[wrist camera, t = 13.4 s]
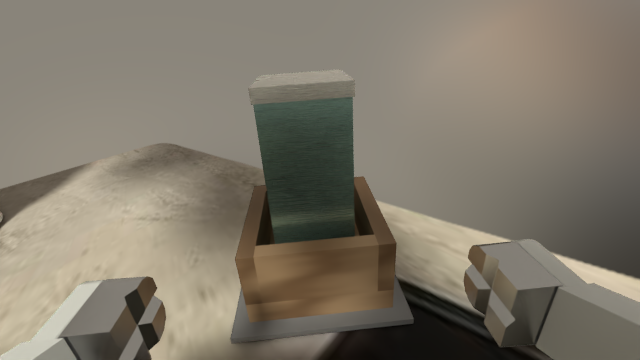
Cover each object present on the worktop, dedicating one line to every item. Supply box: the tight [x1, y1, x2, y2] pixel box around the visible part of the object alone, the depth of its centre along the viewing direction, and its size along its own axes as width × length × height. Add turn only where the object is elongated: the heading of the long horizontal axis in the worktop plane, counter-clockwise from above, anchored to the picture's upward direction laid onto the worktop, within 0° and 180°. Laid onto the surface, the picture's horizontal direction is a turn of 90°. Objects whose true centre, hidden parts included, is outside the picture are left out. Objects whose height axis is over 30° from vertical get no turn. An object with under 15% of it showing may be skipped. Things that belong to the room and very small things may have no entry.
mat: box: [231, 275, 414, 343], centre depth 23 cm, size 11×11×1 cm
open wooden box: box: [235, 177, 396, 323], centre depth 22 cm, size 9×9×5 cm
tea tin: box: [248, 70, 355, 244], centre depth 20 cm, size 5×5×12 cm
